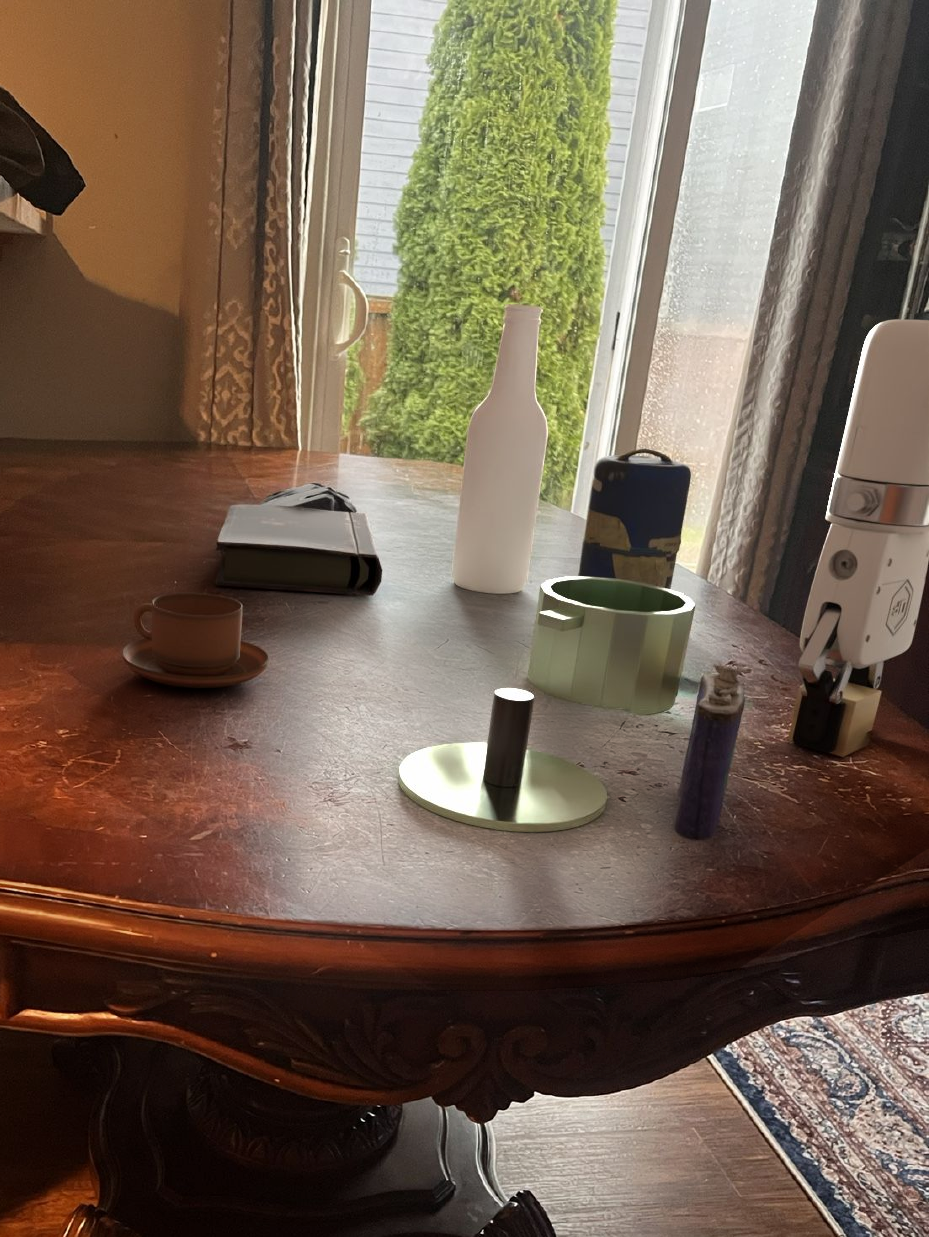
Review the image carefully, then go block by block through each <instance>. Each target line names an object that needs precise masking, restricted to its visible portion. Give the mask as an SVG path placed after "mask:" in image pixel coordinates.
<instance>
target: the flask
mask: <svg viewBox="0 0 929 1237" xmlns="http://www.w3.org/2000/svg"><path fill="white" fill-rule="evenodd" d="M712 668H715V671H716V672H704V673H703V674H702V676H701V677H700V681H699V683H698V690H697V691H698V692H697V697H696V702H695V707H694V713H693V718H692V722H691V729H690V732H689V739H688V744H687V748H686V751H685V756H684V762H683V767H682V771H681V777H680V782H679V786H678V788H677V796H678V797H679V804H678V808H677V813H676V818H675V822H674V831H675V833H676V834H678V835H679V836H681V837H682V838H685V839H687V840H689V841H690V840H691V841H698V842H699V841H700V842H703V841H709V840H711V839H713V838H714V836H715V835H716V832H717V830H718V828H719V824H720V818H721V814H722V809H723V804H724V798H725V794H726V789H727V786H728V779H729V775H730V771H731V766H732V761H733V758H734V752H735V749H736V748H735V747H736V744H737V739H738V736H739V735H738V734H739V729H740V725H741V722H742V716H743V712H744V709H745V701H746V697H745V693H744V690H743V688H742V686H741V684H740V681H739V680H738V679H737V677H738V676H739V674H740V673H743V674H745V675H746V674H748V668H746V667H743V666H737V667H736V666H732V665H731V664H725V665H723V664H722V663H720V662H717V663H713V667H712Z"/></svg>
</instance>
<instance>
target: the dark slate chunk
mask: <svg viewBox="0 0 929 1237" xmlns="http://www.w3.org/2000/svg"><path fill="white" fill-rule="evenodd" d="M260 503H261V504H260V505H278V506H292V507H303V508H311V509H319V510H327V511H339V512H348V513H351V512H353V513H358V510H357V508H356V506H355V505H354V503H353V501H351V498H350V495H349V494H348V492H346V491H344V490H341V489H338V488H337V489H336V488H333V487H332V485H328V486H326V485H324V484H322V483H320V482H310V483H306V484H302V485H298V486H295V487H291V488H288V489H283V490H279V491H276V492H273V493H271V494H268V495H267V496H266V497H264V498H263V500H262V501H261V502H260Z"/></svg>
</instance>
